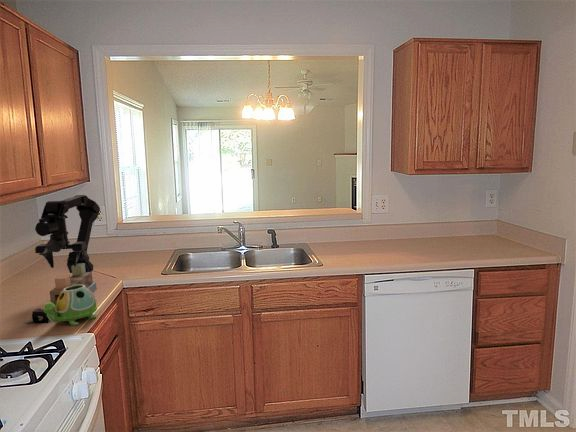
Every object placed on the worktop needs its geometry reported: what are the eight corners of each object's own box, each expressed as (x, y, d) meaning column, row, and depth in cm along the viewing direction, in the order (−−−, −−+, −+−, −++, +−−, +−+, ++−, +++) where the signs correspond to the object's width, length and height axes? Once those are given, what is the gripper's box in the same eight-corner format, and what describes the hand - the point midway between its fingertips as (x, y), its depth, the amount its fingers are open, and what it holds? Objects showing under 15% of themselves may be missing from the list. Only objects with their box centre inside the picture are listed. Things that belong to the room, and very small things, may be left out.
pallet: (77, 283, 186) (76, 272, 185) (92, 282, 186) (91, 271, 185) (51, 304, 162) (49, 291, 161) (68, 303, 163) (66, 290, 162)
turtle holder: (37, 326, 150) (32, 294, 148) (87, 309, 164) (83, 279, 162) (54, 334, 143) (49, 300, 141) (105, 315, 157) (101, 284, 155)
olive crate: (76, 272, 185) (75, 263, 185) (85, 272, 186) (84, 263, 185) (72, 275, 181) (71, 266, 181) (82, 274, 182) (81, 265, 181)
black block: (63, 317, 158) (61, 305, 157) (51, 326, 151) (49, 313, 150) (31, 318, 159) (29, 306, 158) (17, 326, 152) (15, 314, 151)
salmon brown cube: (60, 285, 168) (59, 275, 167) (70, 284, 168) (69, 275, 168) (55, 288, 164) (54, 278, 164) (66, 288, 164) (65, 278, 164)
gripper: (25, 236, 169) (31, 274, 171) (74, 233, 170) (79, 271, 173) (39, 230, 180) (44, 266, 182) (84, 228, 181) (89, 263, 184)
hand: (63, 267), depth 180 cm, fingers open, 9 cm apart
